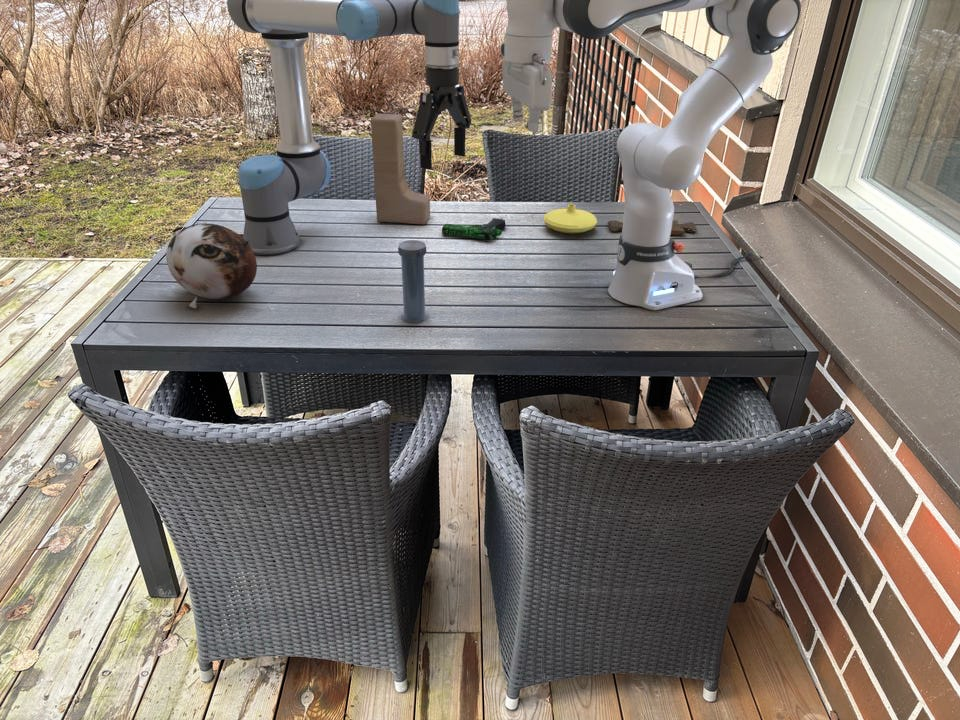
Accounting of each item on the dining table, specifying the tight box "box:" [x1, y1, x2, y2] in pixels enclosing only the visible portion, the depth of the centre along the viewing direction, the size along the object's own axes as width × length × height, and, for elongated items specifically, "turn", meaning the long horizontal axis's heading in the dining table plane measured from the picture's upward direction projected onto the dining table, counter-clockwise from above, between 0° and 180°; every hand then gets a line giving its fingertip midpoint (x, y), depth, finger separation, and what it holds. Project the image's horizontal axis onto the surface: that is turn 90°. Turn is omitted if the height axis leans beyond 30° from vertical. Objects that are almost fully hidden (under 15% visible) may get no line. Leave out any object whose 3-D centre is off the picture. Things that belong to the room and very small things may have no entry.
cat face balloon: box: [165, 222, 258, 309], centre depth 165 cm, size 22×18×20 cm
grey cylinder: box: [400, 255, 426, 323], centre depth 157 cm, size 5×5×17 cm
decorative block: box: [370, 113, 431, 225], centre depth 208 cm, size 8×15×30 cm, turn 82°
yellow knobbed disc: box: [543, 203, 598, 234], centre depth 209 cm, size 16×16×7 cm
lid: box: [397, 239, 427, 258], centre depth 153 cm, size 6×6×2 cm
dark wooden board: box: [607, 219, 697, 235], centre depth 211 cm, size 26×2×10 cm
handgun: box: [441, 217, 506, 242], centre depth 207 cm, size 16×3×15 cm
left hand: (443, 161), depth 169 cm, fingers open, 13 cm apart
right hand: (524, 125), depth 144 cm, fingers open, 8 cm apart
